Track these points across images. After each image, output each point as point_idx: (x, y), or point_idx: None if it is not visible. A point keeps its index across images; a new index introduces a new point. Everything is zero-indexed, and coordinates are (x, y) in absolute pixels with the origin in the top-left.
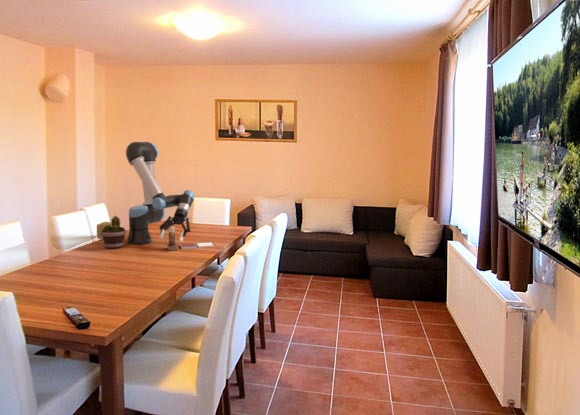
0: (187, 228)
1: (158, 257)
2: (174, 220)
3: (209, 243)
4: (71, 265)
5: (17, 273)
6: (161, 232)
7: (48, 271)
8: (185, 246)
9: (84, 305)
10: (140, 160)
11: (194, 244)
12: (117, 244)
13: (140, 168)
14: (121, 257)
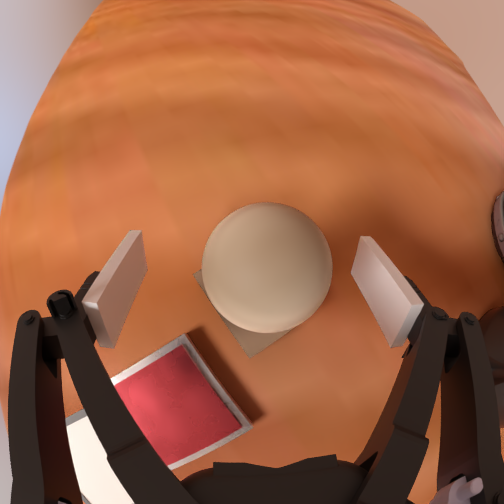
0: (33, 329)
1: (225, 109)
2: (358, 494)
3: (91, 489)
4: (405, 41)
5: (420, 22)
6: (397, 272)
7: (395, 19)
8: (161, 357)
9: None
10: None
11: None
12: (499, 203)
13: None
14: (376, 92)
